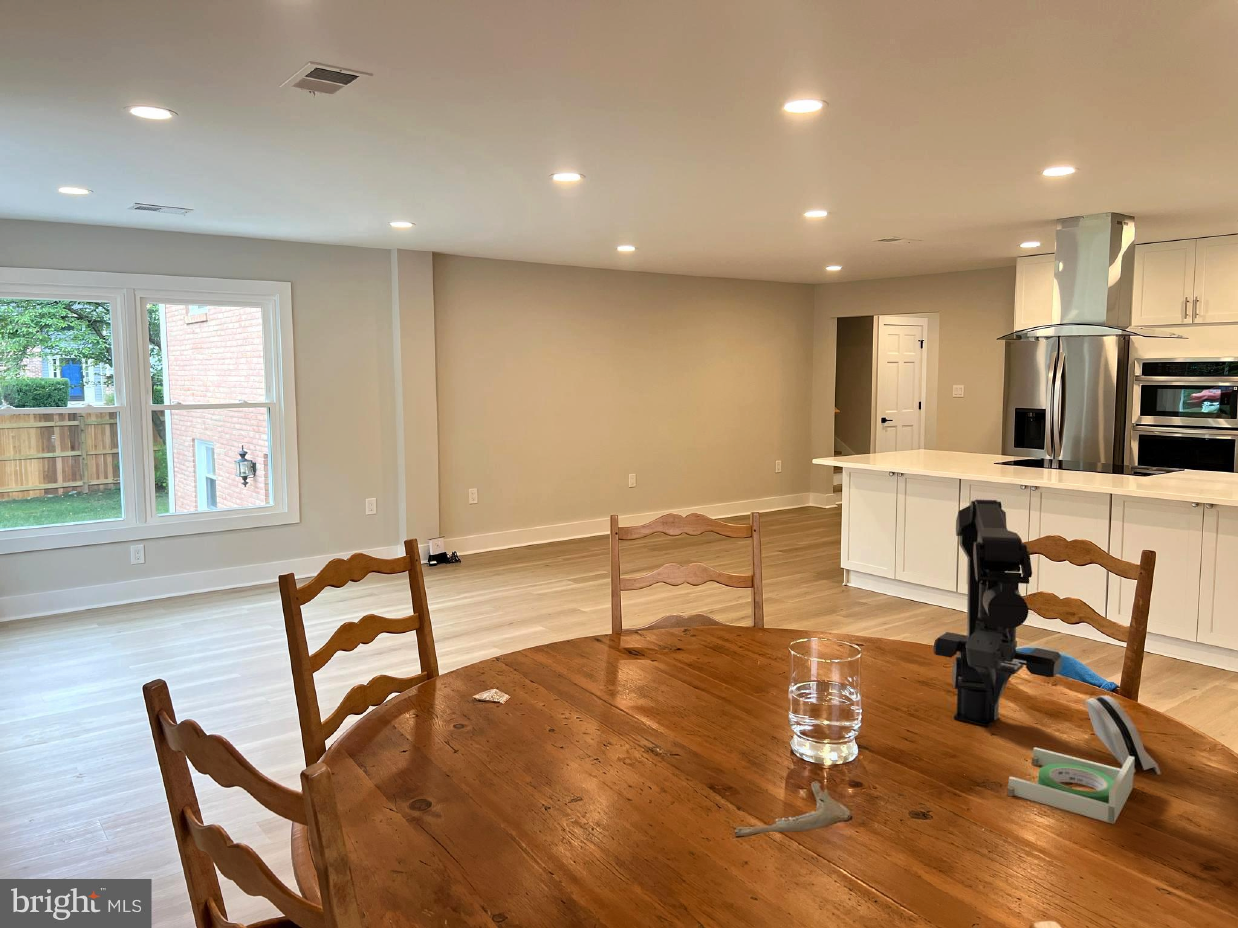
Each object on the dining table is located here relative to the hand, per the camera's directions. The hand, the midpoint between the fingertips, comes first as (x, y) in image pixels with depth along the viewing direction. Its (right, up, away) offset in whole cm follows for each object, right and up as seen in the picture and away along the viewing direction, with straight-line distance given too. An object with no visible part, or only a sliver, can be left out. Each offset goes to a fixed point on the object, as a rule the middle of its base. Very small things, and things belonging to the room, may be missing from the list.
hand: (994, 703), depth 141 cm
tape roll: (+10, -12, -7) cm, 17 cm away
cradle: (+9, -12, -6) cm, 16 cm away
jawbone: (-37, -14, -12) cm, 42 cm away
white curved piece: (+25, -11, +7) cm, 28 cm away
